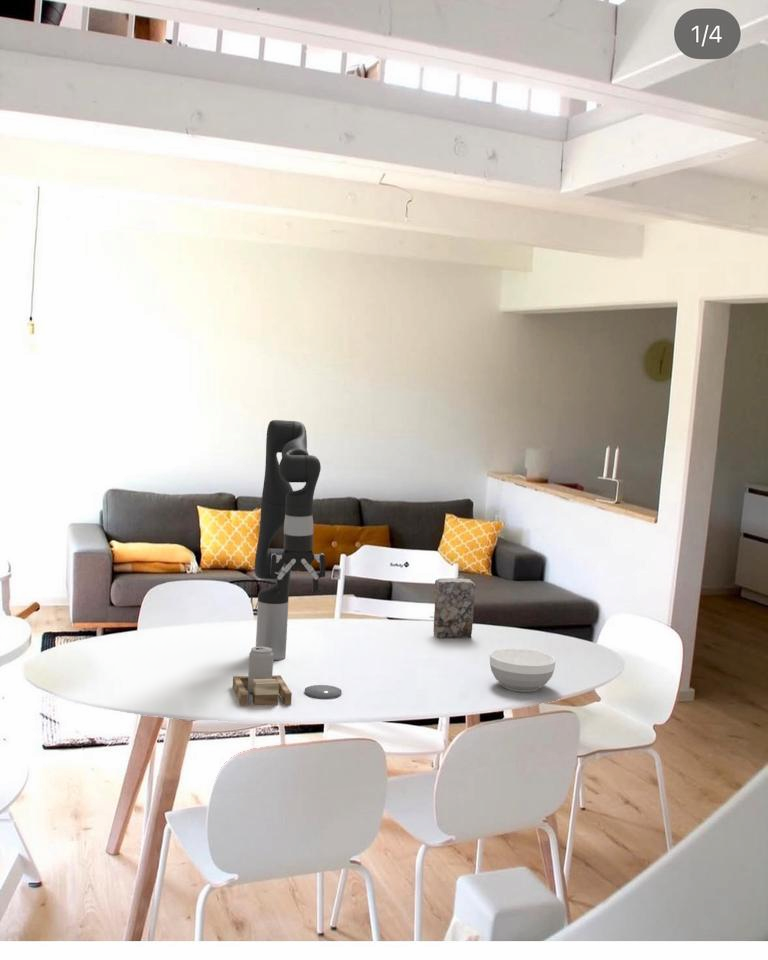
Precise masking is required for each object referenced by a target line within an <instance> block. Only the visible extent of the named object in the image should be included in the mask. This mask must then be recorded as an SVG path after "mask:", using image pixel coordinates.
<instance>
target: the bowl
mask: <svg viewBox="0 0 768 960" xmlns="http://www.w3.org/2000/svg"><path fill="white" fill-rule="evenodd" d="M556 663H557V662H556V659H555V657H554V656H552V655H551V654H547V653H545V652H540V651H538V650H537V651H536V650H531V649H520V648H503V649H502V648H501V649H497V650H493V651H491V652H490V653H489V666H490V670H491V673H492V675H493V677H494V679H496V681H497V682H499V683H500V684H501V687H503V688H504V689H506V690H510V691H513V692H514V691H515V692H519V693H533V692H537V691H538V690H540V688H542V687H543V686H545V685H546V684H547V683H549V681H550V680H551V678H552V677H553V674H554V672H555V668H556Z"/></svg>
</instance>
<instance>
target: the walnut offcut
mask: <svg viewBox="0 0 768 960" xmlns="http://www.w3.org/2000/svg"><path fill="white" fill-rule="evenodd" d="M252 703H253V705H254V707H255V706H261V707H262V706H278V705H279V694H274V695H255V694H254V692H253V694H252Z"/></svg>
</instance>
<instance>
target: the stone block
mask: <svg viewBox="0 0 768 960" xmlns="http://www.w3.org/2000/svg"><path fill="white" fill-rule="evenodd" d="M476 588H477V587H476V584H475V583H474V581H472V580H471V579H470V578H456V577H455V578H452V577H451V578H445V577H444V578H438V579H436V580H435V581H434V610H433V611H434V612H433V635H434V637H435V638H436V639H471V638H472V633H473V624H474V623H473V622H474V611H475V610H474V608H475V599H476V596H475V594H476V593H475V592H476Z"/></svg>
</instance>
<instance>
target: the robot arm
mask: <svg viewBox="0 0 768 960" xmlns="http://www.w3.org/2000/svg"><path fill="white" fill-rule="evenodd" d="M307 438H308V437H307V429H306V426H305V424H304V423H302V422H300V421H296V420H283V419H275V420H273V419H272V420H271V421H269V423H268V426H267V430H266V439H265V441H266V442H265V466H264V468H265V469H264V479H263V484H262V485H263V487H262V494H261V502H260V503H261V504H260V505H261V506H260V523H259V532H258V539H257V546H256V551H255V558H254V559H255V560H254V573H255V576H256V578H258V579H261V580H276V583H275V584H273V585H271V586H269V587H267V588H263V589H261V590H260V591H258V593H257V612H256V635H255V636H256V638H255V647H269V648H272V652H273V661H279V660H283V659H285V658H287V657H286V655H287V640H288V639H287V638H288V637H287V636H288V619H289V618H288V617H289V594H290V580H291V573H292V572H296V571H301V572H304V571H306V570H307V572H308V573H309V574H310V576H311V577H312V578H311V580H312V583H311V592H312V594H316V592H318V590H319V579H320V578H324V577H326V558H325V557H326V556H325V554H324V553H323V552H320V553H317V554H316V553H314V551H313V549H314V547H313V545H314V519H313V513H314V512H313V505H314V504H313V503H314V495H315V489H316V486H317V484H318V481H319V477H320V473H321V470H322V467H321V462H320V460H319V458H318V457H317V456H315V455H314V454H312V455H309V452H308V439H307ZM278 453H280V454H281V459H280V461H279V460H278V456H277V455H278ZM291 483H304V486H303V487H302V488H300V489H297V490H294V489H293V487H292V485H291ZM282 528H283V548H271V547H270V545H271V543H272V541H273V539H274V538H275V536H276V535H277V534H278V533H279V531H281V529H282ZM314 560H316V562H317V563H319V571H318V572H316V570H315V569H314V568H313V566H312V563H313V562H314Z"/></svg>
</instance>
